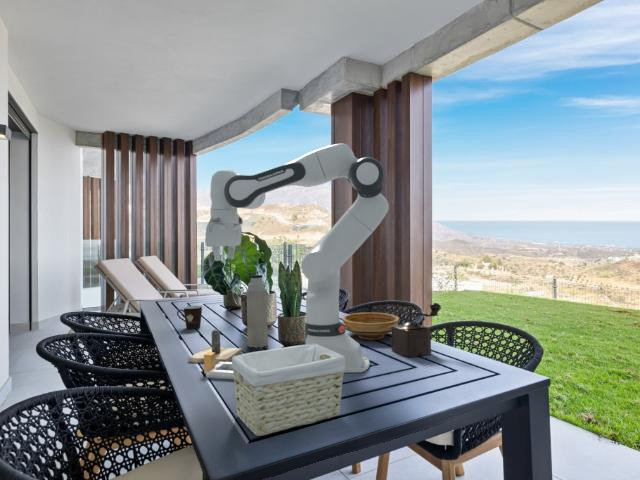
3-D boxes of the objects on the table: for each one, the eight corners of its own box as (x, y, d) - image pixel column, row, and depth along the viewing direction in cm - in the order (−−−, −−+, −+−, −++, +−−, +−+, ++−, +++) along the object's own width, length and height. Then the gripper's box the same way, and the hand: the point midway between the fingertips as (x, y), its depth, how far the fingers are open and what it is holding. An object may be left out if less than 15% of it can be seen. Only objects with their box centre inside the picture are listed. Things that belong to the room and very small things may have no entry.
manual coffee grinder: (410, 358, 143) (409, 307, 143) (390, 351, 153) (390, 302, 153) (444, 352, 150) (443, 303, 150) (423, 345, 160) (422, 299, 160)
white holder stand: (248, 369, 135) (248, 350, 135) (236, 379, 125) (235, 359, 125) (213, 367, 138) (213, 349, 138) (198, 377, 128) (198, 358, 128)
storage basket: (316, 395, 112) (315, 341, 112) (349, 417, 98) (348, 355, 98) (230, 415, 100) (228, 355, 100) (254, 444, 86) (252, 373, 86)
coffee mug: (206, 326, 200) (206, 306, 200) (192, 330, 193) (191, 309, 193) (190, 324, 207) (189, 304, 207) (175, 328, 199) (175, 307, 199)
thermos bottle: (265, 341, 170) (263, 273, 170) (270, 346, 163) (268, 275, 163) (245, 343, 167) (244, 274, 167) (250, 348, 160) (248, 276, 160)
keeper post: (242, 352, 155) (241, 325, 155) (225, 363, 141) (225, 334, 141) (207, 350, 158) (207, 324, 158) (188, 361, 144) (187, 333, 144)
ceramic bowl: (326, 334, 181) (326, 316, 181) (367, 326, 196) (366, 309, 195) (375, 348, 157) (374, 327, 157) (416, 338, 172) (416, 318, 172)
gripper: (218, 217, 129) (218, 261, 129) (244, 219, 149) (245, 258, 149) (200, 217, 130) (200, 261, 130) (228, 220, 150) (228, 258, 150)
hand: (224, 259), depth 140 cm, fingers open, 8 cm apart
